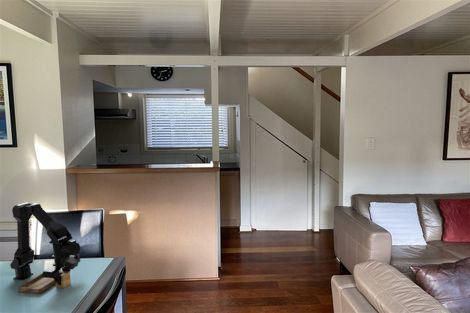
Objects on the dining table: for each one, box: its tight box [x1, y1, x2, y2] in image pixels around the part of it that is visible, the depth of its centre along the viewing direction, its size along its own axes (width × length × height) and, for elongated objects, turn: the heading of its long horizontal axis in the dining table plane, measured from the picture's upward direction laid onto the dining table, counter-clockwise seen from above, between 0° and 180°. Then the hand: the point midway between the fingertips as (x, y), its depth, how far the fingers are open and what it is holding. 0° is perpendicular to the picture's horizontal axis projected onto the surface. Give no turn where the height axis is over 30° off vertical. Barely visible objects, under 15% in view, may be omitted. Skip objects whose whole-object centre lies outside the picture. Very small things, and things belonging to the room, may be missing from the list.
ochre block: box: [55, 270, 72, 289], centre depth 159 cm, size 4×4×6 cm
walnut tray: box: [17, 272, 56, 295], centre depth 161 cm, size 12×18×2 cm, turn 169°
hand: (63, 282), depth 159 cm, fingers closed on ochre block, 4 cm apart
